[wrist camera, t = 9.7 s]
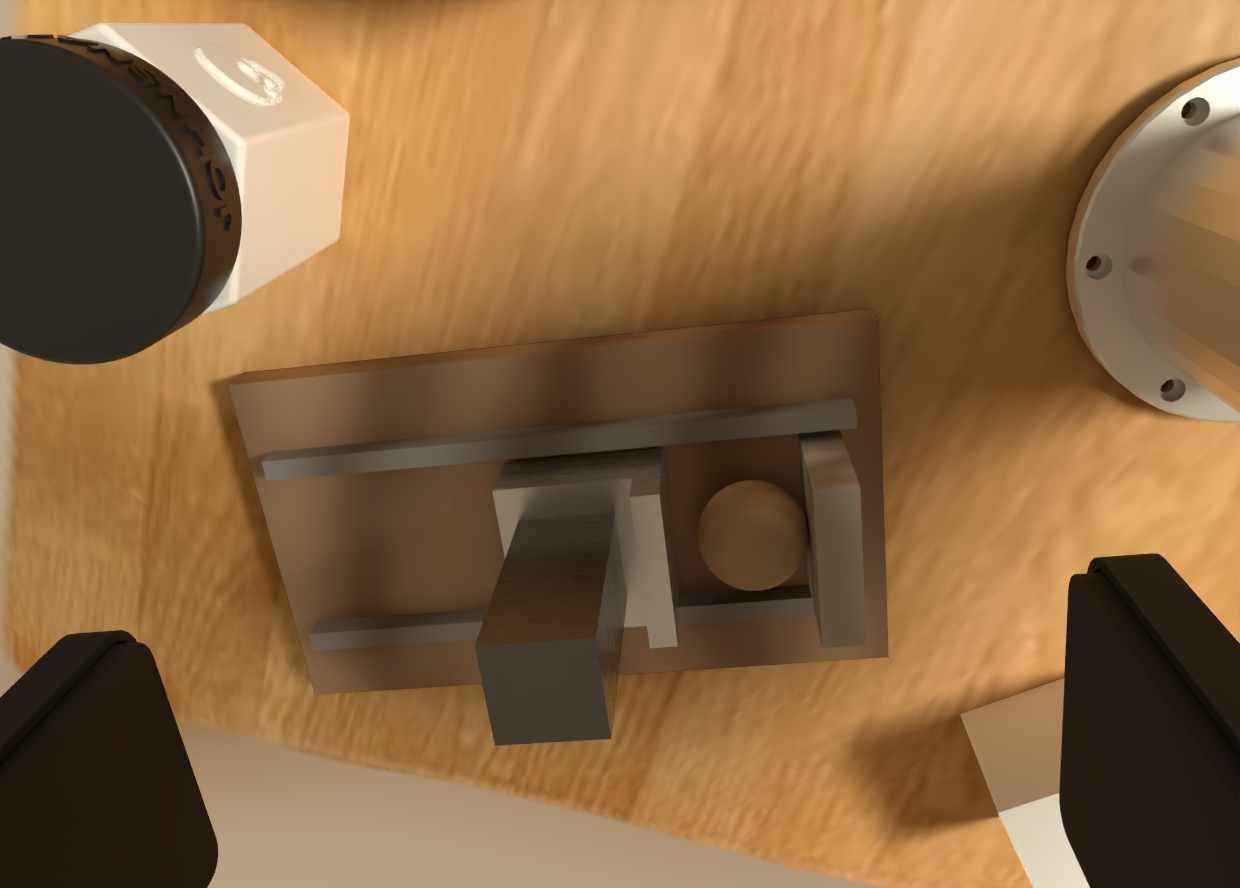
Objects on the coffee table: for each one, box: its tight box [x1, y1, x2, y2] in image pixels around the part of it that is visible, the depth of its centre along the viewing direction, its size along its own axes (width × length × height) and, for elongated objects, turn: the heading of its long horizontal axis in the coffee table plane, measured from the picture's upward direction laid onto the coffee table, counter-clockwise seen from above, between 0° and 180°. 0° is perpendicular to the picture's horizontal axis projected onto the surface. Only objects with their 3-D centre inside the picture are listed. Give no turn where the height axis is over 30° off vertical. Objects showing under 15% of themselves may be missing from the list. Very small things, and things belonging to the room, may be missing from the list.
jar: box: [0, 22, 350, 364], centre depth 31 cm, size 9×8×12 cm
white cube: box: [960, 678, 1090, 888], centre depth 41 cm, size 6×6×6 cm
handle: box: [475, 449, 679, 746], centre depth 34 cm, size 6×6×10 cm
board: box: [228, 309, 888, 695], centre depth 38 cm, size 24×14×6 cm, turn 97°
